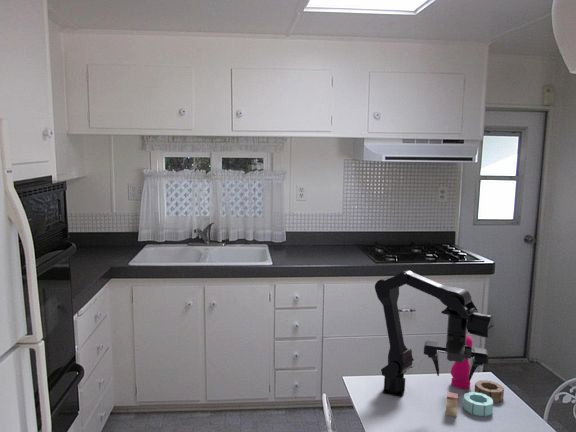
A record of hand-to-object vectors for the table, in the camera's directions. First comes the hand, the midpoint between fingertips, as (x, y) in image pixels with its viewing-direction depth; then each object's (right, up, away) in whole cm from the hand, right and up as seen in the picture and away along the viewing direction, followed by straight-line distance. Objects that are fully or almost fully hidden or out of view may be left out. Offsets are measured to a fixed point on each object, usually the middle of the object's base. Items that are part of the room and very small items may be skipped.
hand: (453, 377), depth 149 cm
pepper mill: (+10, -10, +21) cm, 25 cm away
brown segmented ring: (+17, -11, +13) cm, 24 cm away
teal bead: (+9, -11, +4) cm, 15 cm away
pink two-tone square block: (0, -12, +1) cm, 12 cm away
